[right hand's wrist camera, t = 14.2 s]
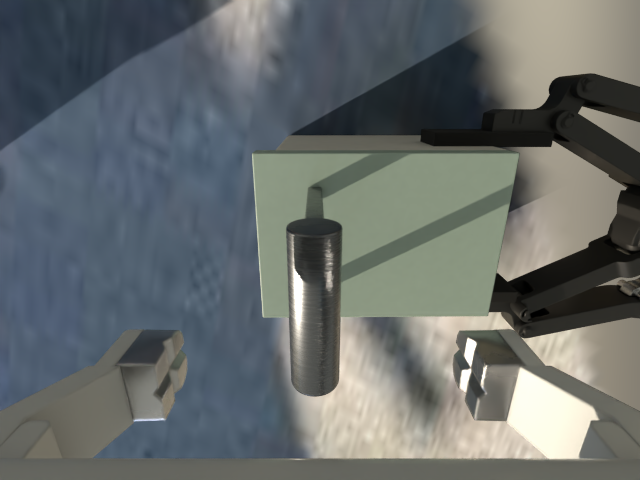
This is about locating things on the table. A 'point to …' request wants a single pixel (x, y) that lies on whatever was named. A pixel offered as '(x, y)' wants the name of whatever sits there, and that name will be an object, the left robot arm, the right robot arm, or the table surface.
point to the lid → (375, 241)
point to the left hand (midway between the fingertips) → (418, 218)
